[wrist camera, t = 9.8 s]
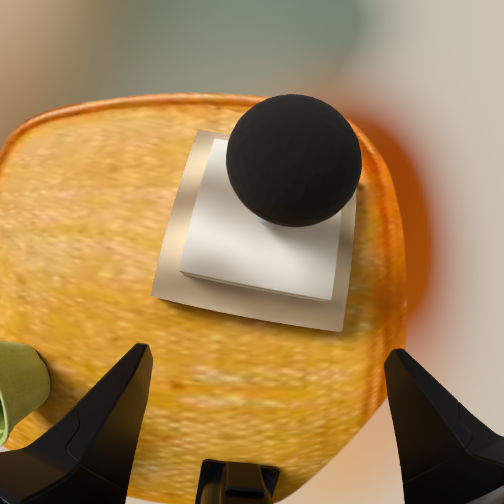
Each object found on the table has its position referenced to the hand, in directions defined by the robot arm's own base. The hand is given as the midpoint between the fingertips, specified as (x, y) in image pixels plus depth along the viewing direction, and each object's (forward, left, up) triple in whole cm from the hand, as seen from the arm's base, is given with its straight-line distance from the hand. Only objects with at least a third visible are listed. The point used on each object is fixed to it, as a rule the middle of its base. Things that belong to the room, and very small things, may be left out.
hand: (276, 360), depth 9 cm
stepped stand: (+8, +1, -12) cm, 14 cm away
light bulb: (+8, 0, -8) cm, 11 cm away
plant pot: (-10, +20, -12) cm, 25 cm away
